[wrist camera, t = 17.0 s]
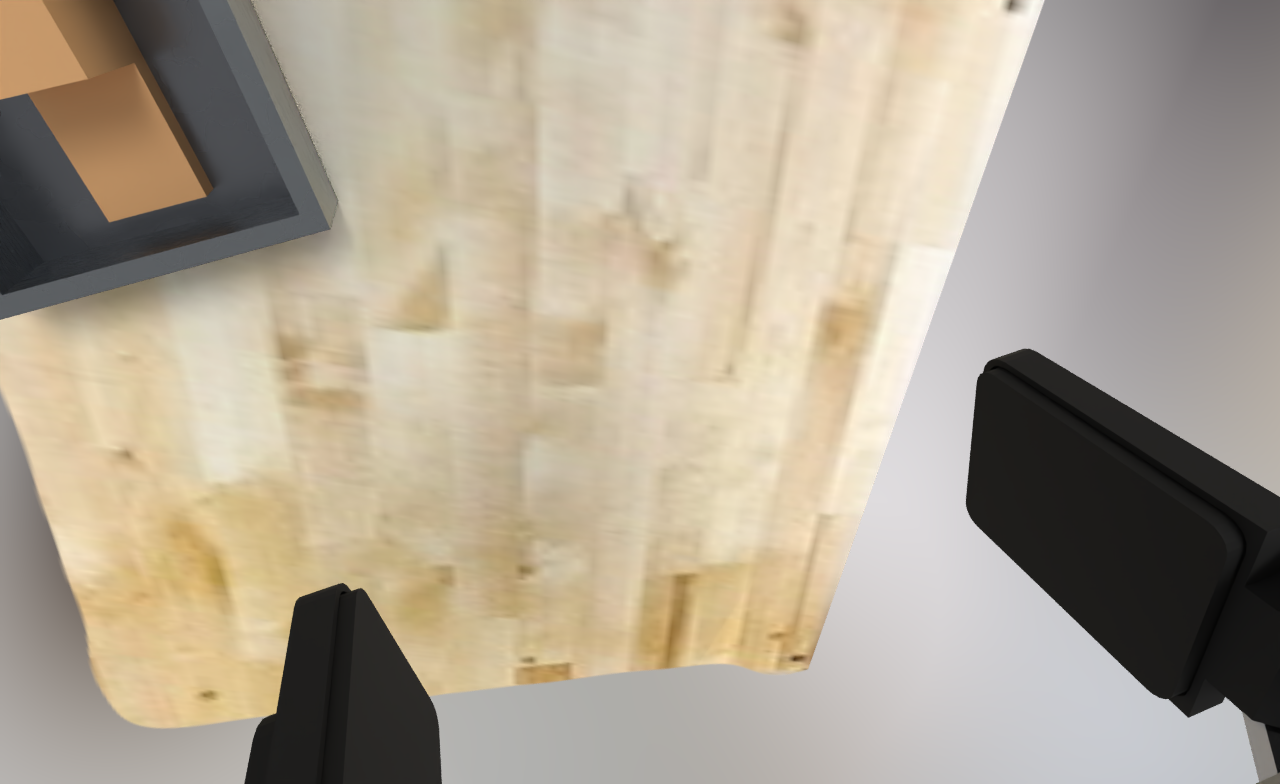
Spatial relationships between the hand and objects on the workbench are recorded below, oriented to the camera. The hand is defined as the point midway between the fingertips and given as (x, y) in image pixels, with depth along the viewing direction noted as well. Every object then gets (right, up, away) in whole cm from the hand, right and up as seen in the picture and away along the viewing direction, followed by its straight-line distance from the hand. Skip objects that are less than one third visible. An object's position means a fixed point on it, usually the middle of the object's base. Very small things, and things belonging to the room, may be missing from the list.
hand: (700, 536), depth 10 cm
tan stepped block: (-25, +15, +22) cm, 37 cm away
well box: (-25, +16, +22) cm, 37 cm away
